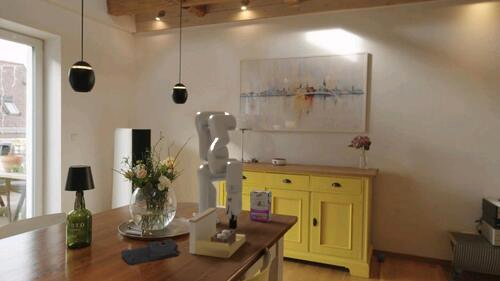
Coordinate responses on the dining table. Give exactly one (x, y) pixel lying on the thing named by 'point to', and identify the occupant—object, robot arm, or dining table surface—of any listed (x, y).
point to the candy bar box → (260, 205)
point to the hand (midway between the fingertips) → (232, 228)
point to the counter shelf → (204, 230)
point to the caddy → (224, 236)
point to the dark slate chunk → (151, 252)
